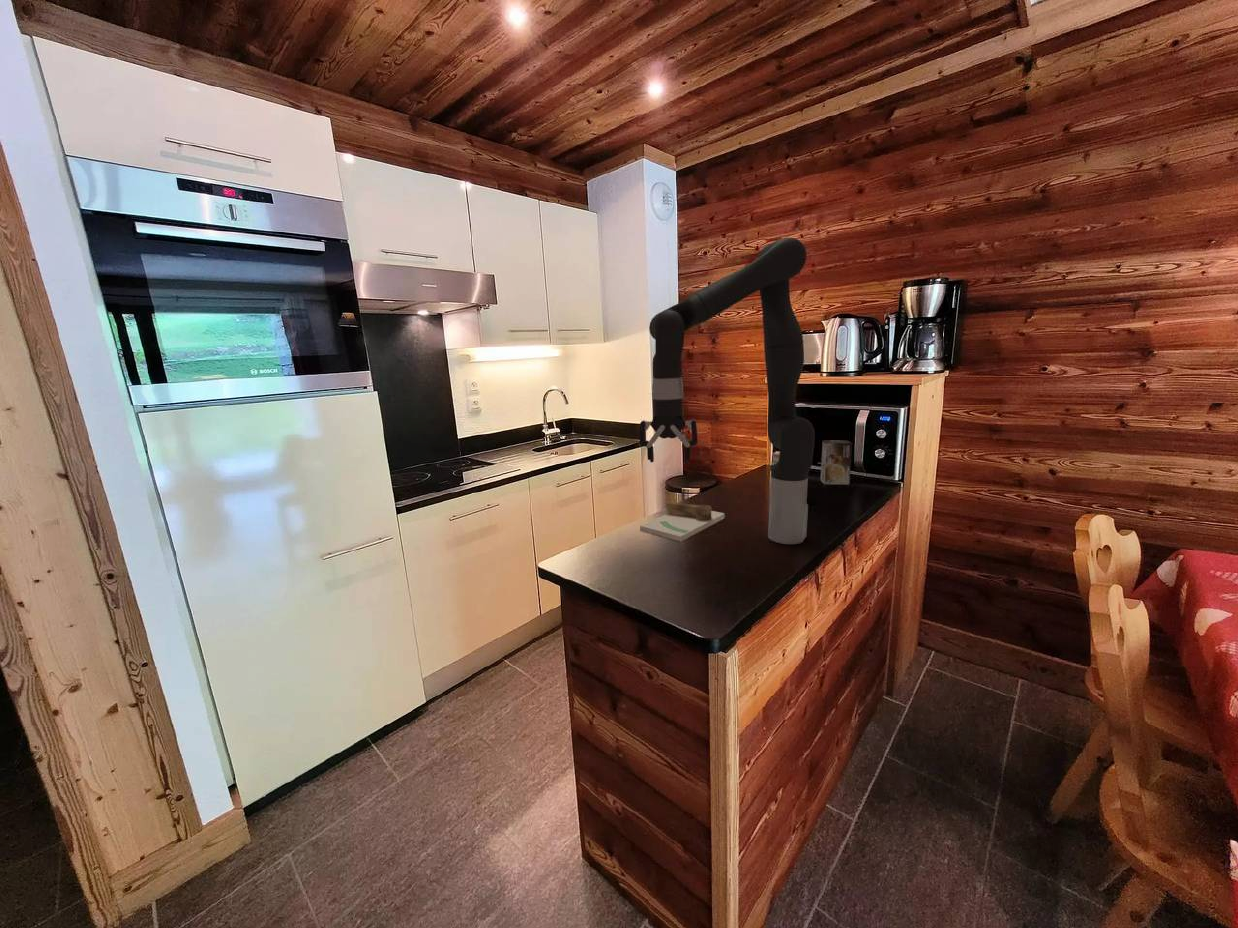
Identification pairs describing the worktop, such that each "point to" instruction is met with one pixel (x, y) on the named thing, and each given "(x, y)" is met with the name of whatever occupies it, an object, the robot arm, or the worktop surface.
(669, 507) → the brown wooden block
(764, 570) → the worktop surface
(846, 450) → the coffee box
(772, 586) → the worktop surface
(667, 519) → the dial board
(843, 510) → the worktop surface
